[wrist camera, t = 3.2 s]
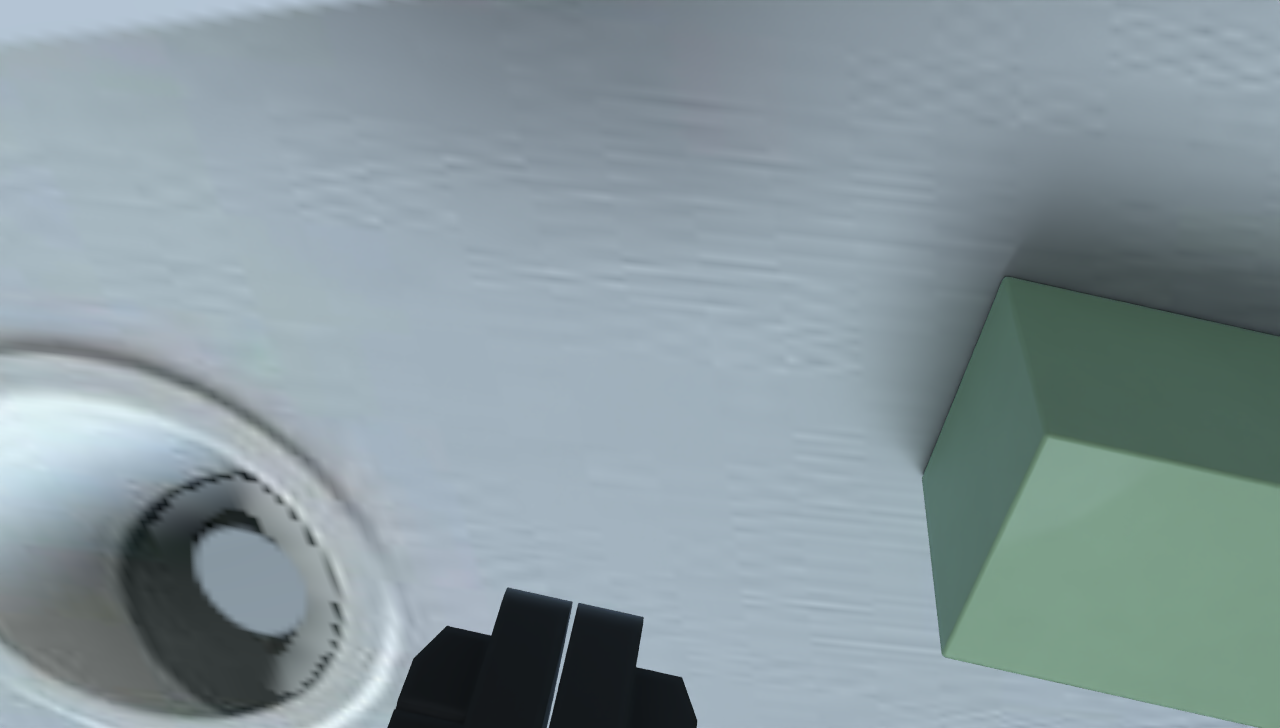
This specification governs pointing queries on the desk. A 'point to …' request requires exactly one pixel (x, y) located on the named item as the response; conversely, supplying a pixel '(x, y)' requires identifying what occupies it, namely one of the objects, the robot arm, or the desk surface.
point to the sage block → (1113, 504)
